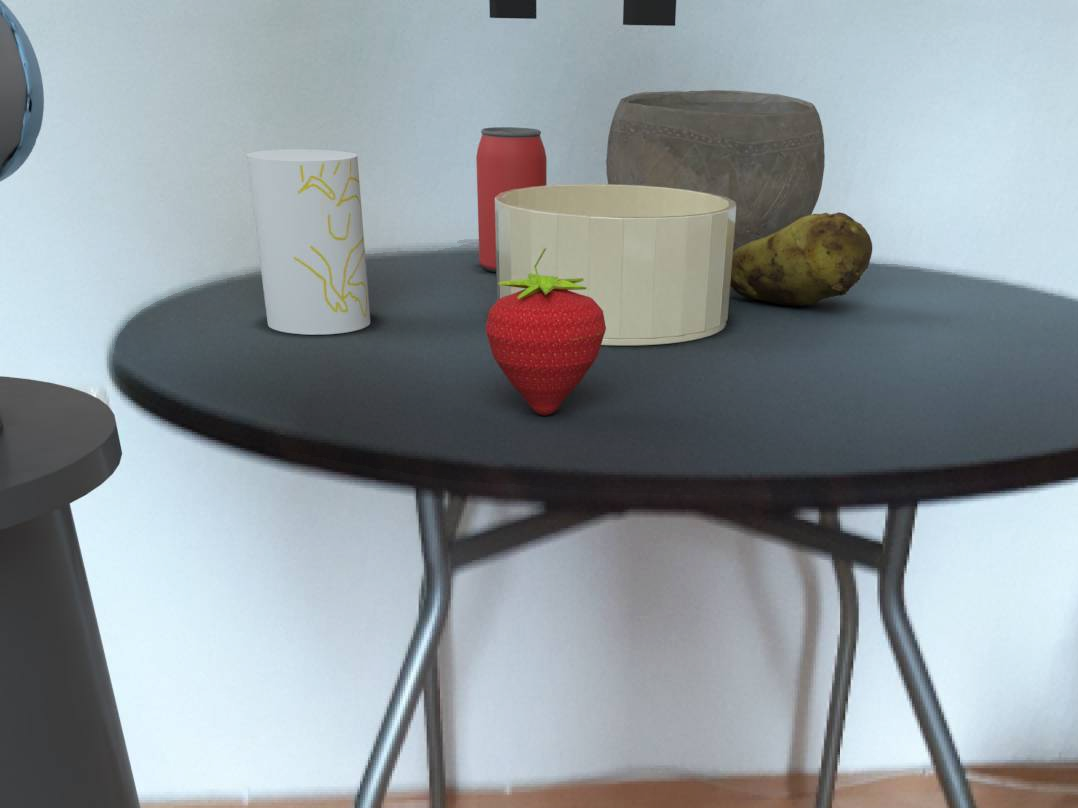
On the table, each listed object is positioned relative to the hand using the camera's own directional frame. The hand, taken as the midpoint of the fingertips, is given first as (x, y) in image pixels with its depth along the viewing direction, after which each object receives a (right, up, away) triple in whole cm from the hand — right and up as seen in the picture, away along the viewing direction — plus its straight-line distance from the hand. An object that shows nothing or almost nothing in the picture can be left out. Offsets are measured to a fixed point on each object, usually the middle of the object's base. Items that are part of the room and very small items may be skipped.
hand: (576, 22), depth 65 cm
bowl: (+12, +11, +56) cm, 58 cm away
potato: (+18, +1, +41) cm, 45 cm away
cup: (-21, -4, +32) cm, 39 cm away
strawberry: (-2, -18, +12) cm, 21 cm away
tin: (+2, -2, +36) cm, 36 cm away
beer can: (-7, +10, +53) cm, 54 cm away
